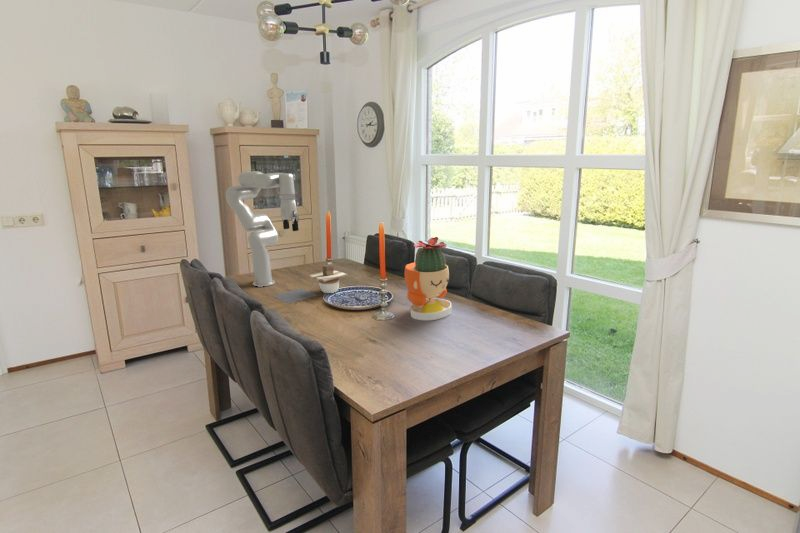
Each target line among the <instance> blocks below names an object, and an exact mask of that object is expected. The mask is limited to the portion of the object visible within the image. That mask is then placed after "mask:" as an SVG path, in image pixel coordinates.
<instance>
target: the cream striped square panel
mask: <svg viewBox="0 0 800 533" xmlns="http://www.w3.org/2000/svg"><path fill="white" fill-rule="evenodd" d="M317 296H319V294H317V293H314V292H311V291H309V290H307V289H304V288H298V289H294V290H289V291H286V292H282V293H277V294H275V295H272V297H273V298H275V299H277V300H279V301H282V302H283V303H285V304H287V305H288V304H291V303H295V302H299V301H303V300H307V299H310V298H314V297H317Z"/></svg>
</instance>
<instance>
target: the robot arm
mask: <svg viewBox="0 0 800 533" xmlns="http://www.w3.org/2000/svg"><path fill="white" fill-rule="evenodd" d="M238 175H239V176H238V177H237V181H238V184H239V185H232V186H231V187H228V188H227V189H226V191H225V200H226V202H227V204H228V206H229V207H230V208H231V210H232V211H233V212H234V214H235V215H236V217H237V219H238V220H239V222H240V224H241V225H242V228H243V229H244V230H245V231H246V232H250V233H249V234H248V237H247V241H248V244H249V248H250V252H251V257H252V258H251V259H252V267H253V274H254V281H253V282H252V286H253V285H254V286H253V287H255V286H258V287H257V288H264V287H263V286H265V287H269V286H272V285H274V284H275V283H276V281H275V280H274V279H273V278H272V268H271V267H272V266H271V259H270V252H269V251H268V249H267V248H266V247H267V246H272V245H275V244H277V243H278V241H279V234H278V232H277V230H276V228H275V226H274V225H273V223H272V221H271V219H270V217H268V215H267V214H265V213H262V212H260V213H259V212H258V213H253V211H252V210H251V208H250V207H249V205H247V203H246V202H244V201H246V200H252V199H255V198H257V196H258V194H259V193H260V191H261V190H262V189H264V190H265V189H266V190H267V189H268V190H269V189H274V188H279V196H280V218H281V219H282V220H281V221H282V227H283V230H288V229H290V221H291V222H292V223H291V226H292V227H291V228H292V231H293V232H298V231H299V221H300V220H299V218H300V216H299V214H298V210H297V204H296V191H295V182H294V175H293V173H290V172H289V173H287V172H286V173H284V172H272V173H270V172H269V173H263V172H261V171H260V170H259V171H258V170H253V171H252V170H251V171H243V172H240V174H238Z"/></svg>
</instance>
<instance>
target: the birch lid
mask: <svg viewBox="0 0 800 533" xmlns="http://www.w3.org/2000/svg"><path fill="white" fill-rule="evenodd" d="M348 276H349V274H348V273H345V272H342V271H338V270H335V269H334V266H333V265H332V264H324V265H322V272H316V273H312V274H309V275H308V277H309V278H312V279H314V280H317V281H319V280H321V281H324V282H325V281H329V280H333V279H337V278H339V279H340V278H344V277H348Z"/></svg>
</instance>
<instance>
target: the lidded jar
mask: <svg viewBox="0 0 800 533" xmlns="http://www.w3.org/2000/svg"><path fill="white" fill-rule="evenodd" d="M318 285H319V288H320V289H319V290H320V291H321V292H322V293H323V294H325V293H333V294H335V293H336V292H337V291H338V290H339V287H340V278H337V279H333V280H329V281H325V282H324V281H321V280H318ZM334 292H335V293H334Z"/></svg>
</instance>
